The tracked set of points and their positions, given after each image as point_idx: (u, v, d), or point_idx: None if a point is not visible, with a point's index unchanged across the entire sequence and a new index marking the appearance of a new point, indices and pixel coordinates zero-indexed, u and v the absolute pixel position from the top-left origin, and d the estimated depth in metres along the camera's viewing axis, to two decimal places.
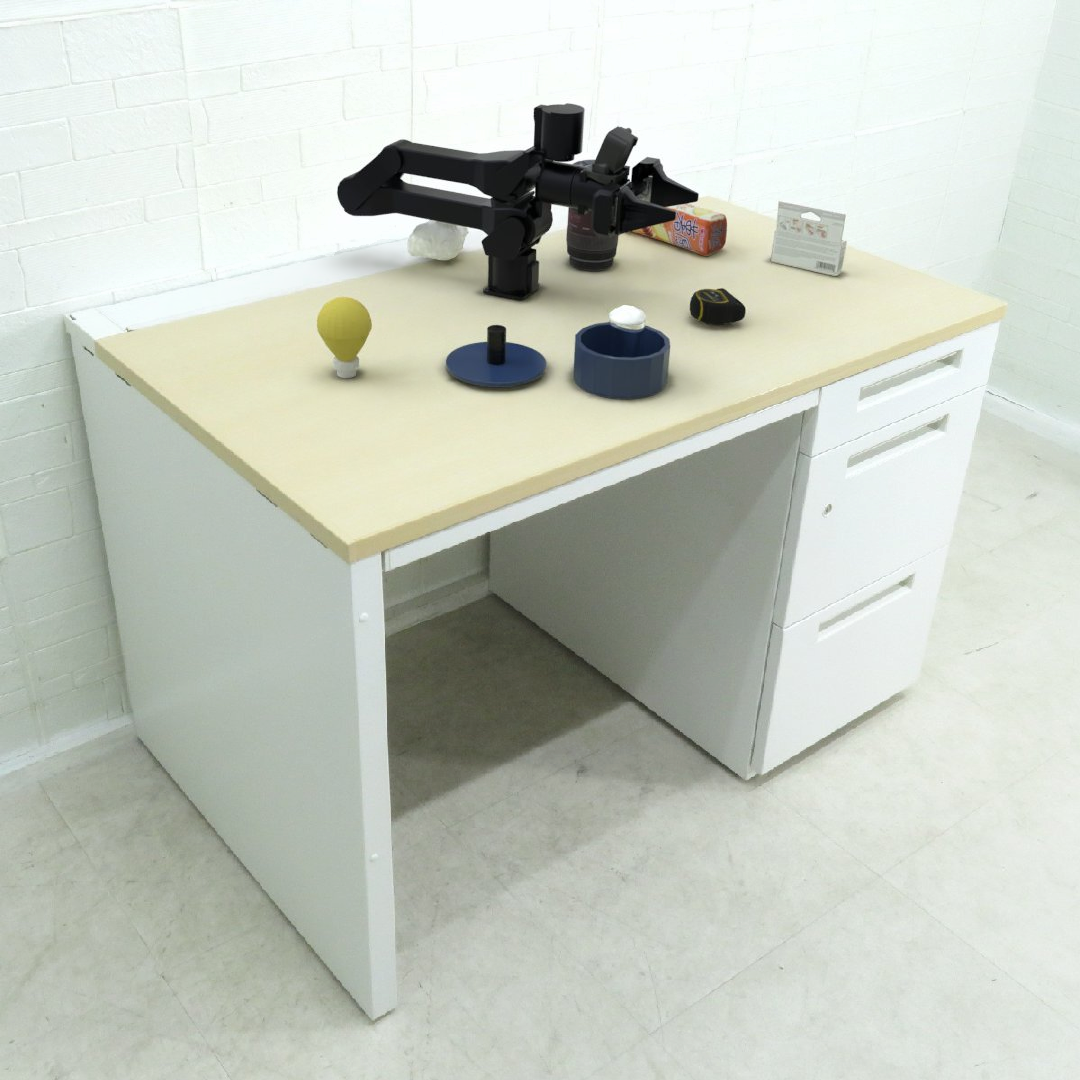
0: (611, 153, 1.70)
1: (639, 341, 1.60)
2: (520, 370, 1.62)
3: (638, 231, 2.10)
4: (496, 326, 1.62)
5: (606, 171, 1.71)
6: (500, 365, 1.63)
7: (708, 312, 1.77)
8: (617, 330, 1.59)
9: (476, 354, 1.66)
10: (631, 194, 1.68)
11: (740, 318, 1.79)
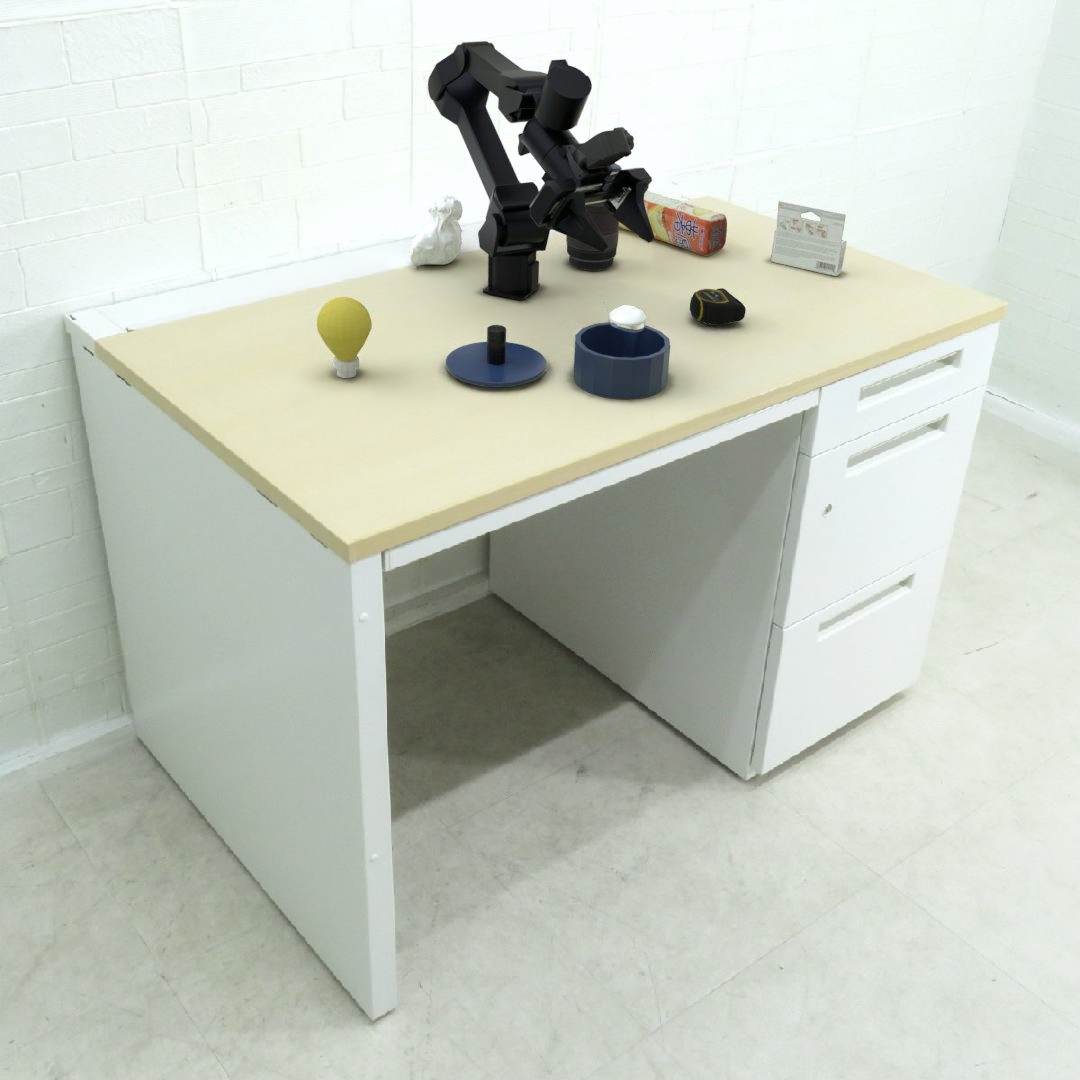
0: (594, 151, 1.60)
1: (639, 341, 1.60)
2: (520, 370, 1.62)
3: None
4: (496, 326, 1.62)
5: (581, 163, 1.62)
6: (500, 365, 1.63)
7: (708, 312, 1.77)
8: (617, 330, 1.59)
9: (476, 354, 1.66)
10: (581, 203, 1.60)
11: (740, 318, 1.79)
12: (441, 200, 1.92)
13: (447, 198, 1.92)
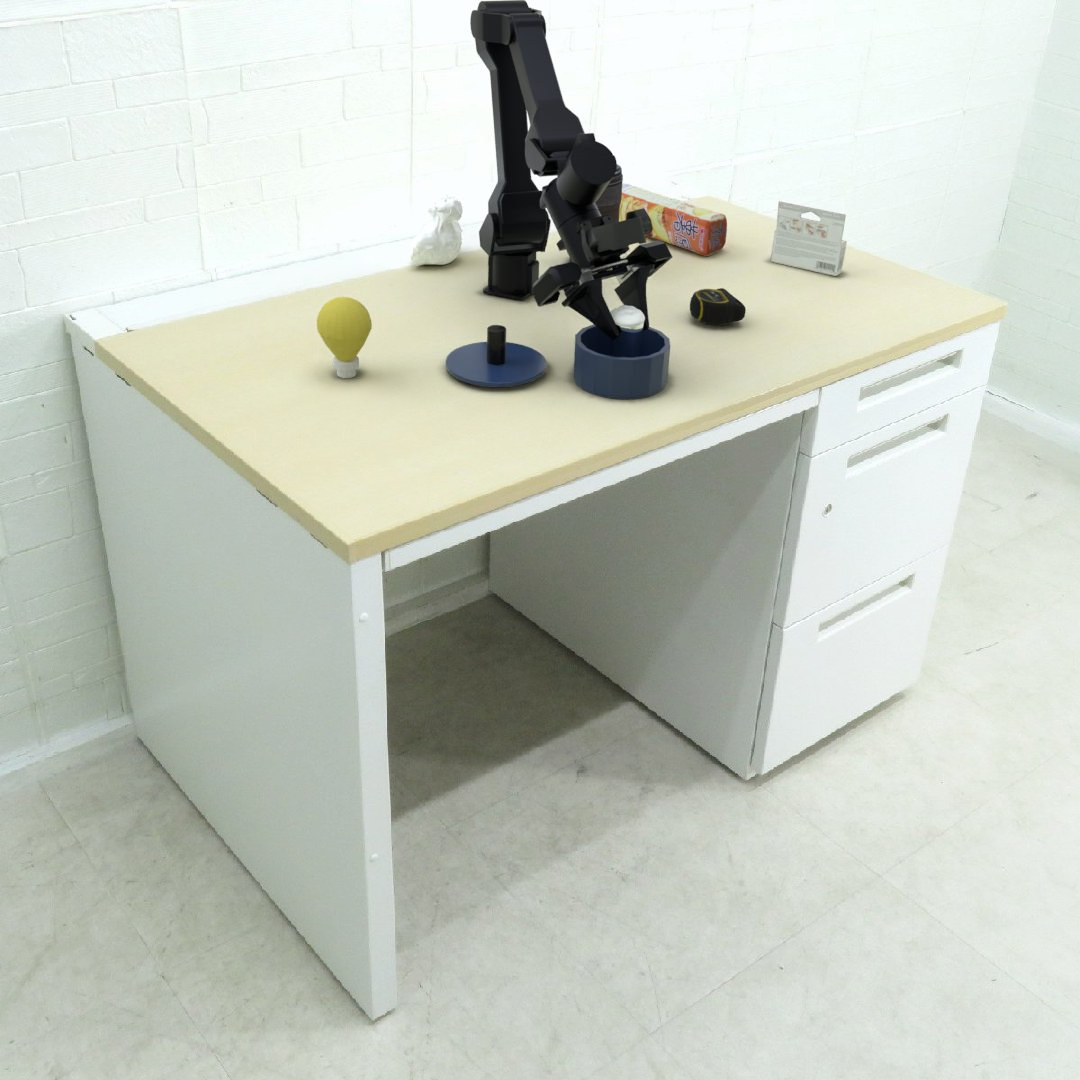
0: (605, 239, 1.54)
1: (638, 341, 1.60)
2: (520, 370, 1.62)
3: None
4: (496, 326, 1.62)
5: (592, 246, 1.56)
6: (500, 365, 1.63)
7: (708, 312, 1.77)
8: None
9: (476, 354, 1.66)
10: (597, 289, 1.56)
11: (740, 318, 1.79)
12: (441, 200, 1.92)
13: (447, 198, 1.92)
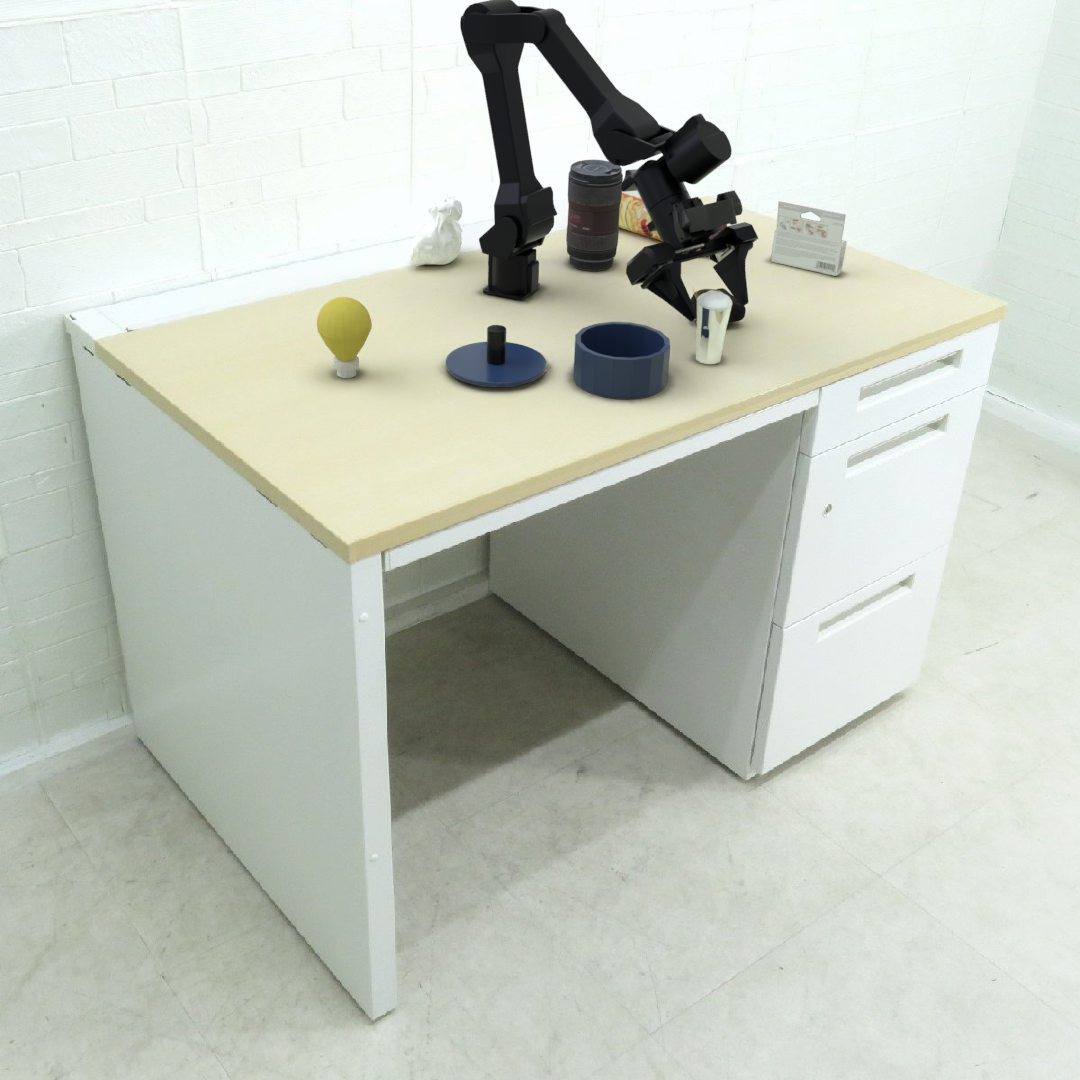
0: (698, 220, 1.60)
1: (725, 325, 1.66)
2: (520, 370, 1.62)
3: (638, 231, 2.10)
4: (496, 326, 1.62)
5: (685, 227, 1.62)
6: (500, 365, 1.63)
7: None
8: (705, 314, 1.65)
9: (476, 354, 1.66)
10: (676, 272, 1.61)
11: (740, 318, 1.79)
12: (441, 200, 1.92)
13: (447, 198, 1.92)
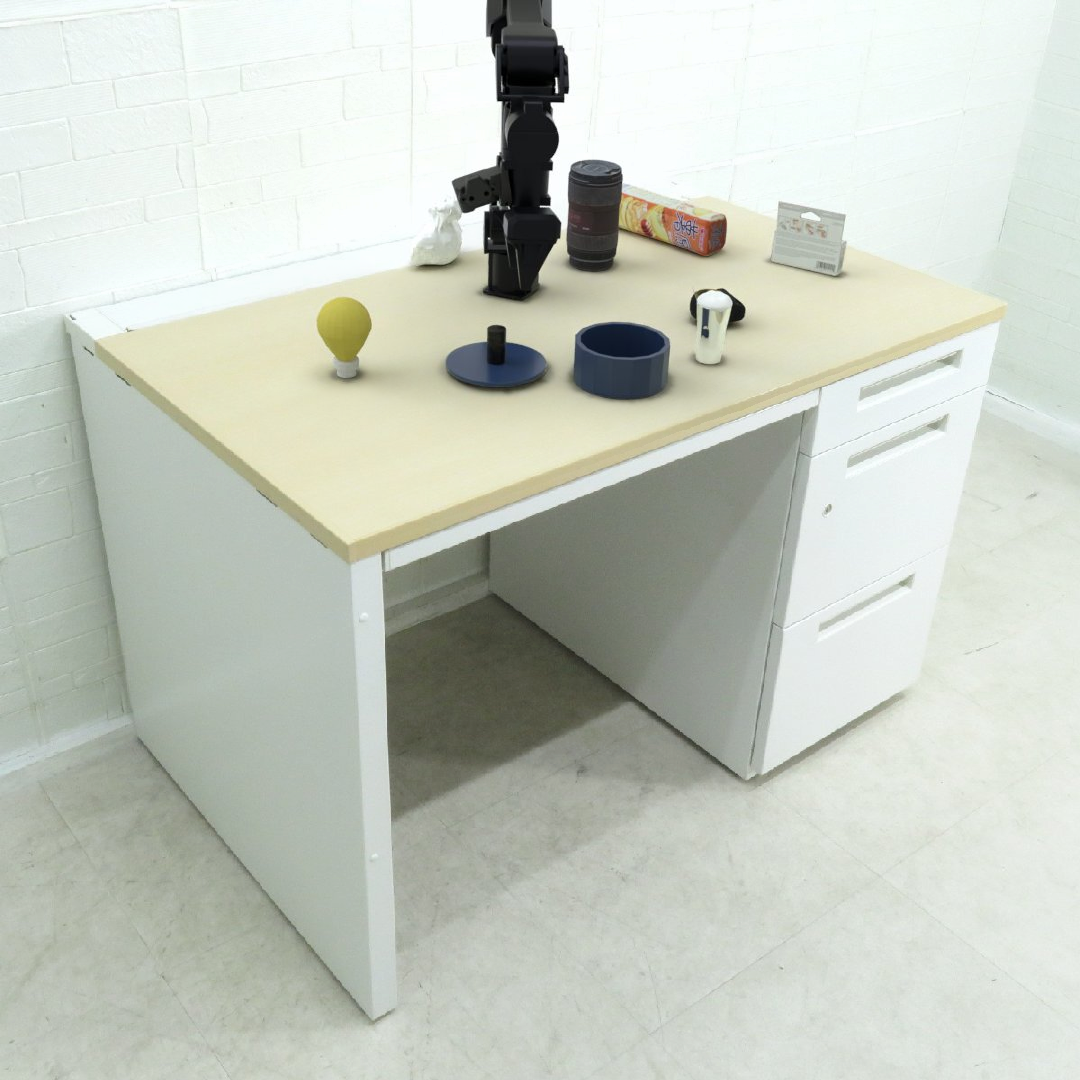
0: None
1: (725, 325, 1.66)
2: (520, 370, 1.62)
3: (638, 231, 2.10)
4: (496, 326, 1.62)
5: None
6: (500, 365, 1.63)
7: None
8: (705, 314, 1.65)
9: (476, 354, 1.66)
10: None
11: (740, 318, 1.79)
12: (441, 200, 1.92)
13: (447, 198, 1.92)
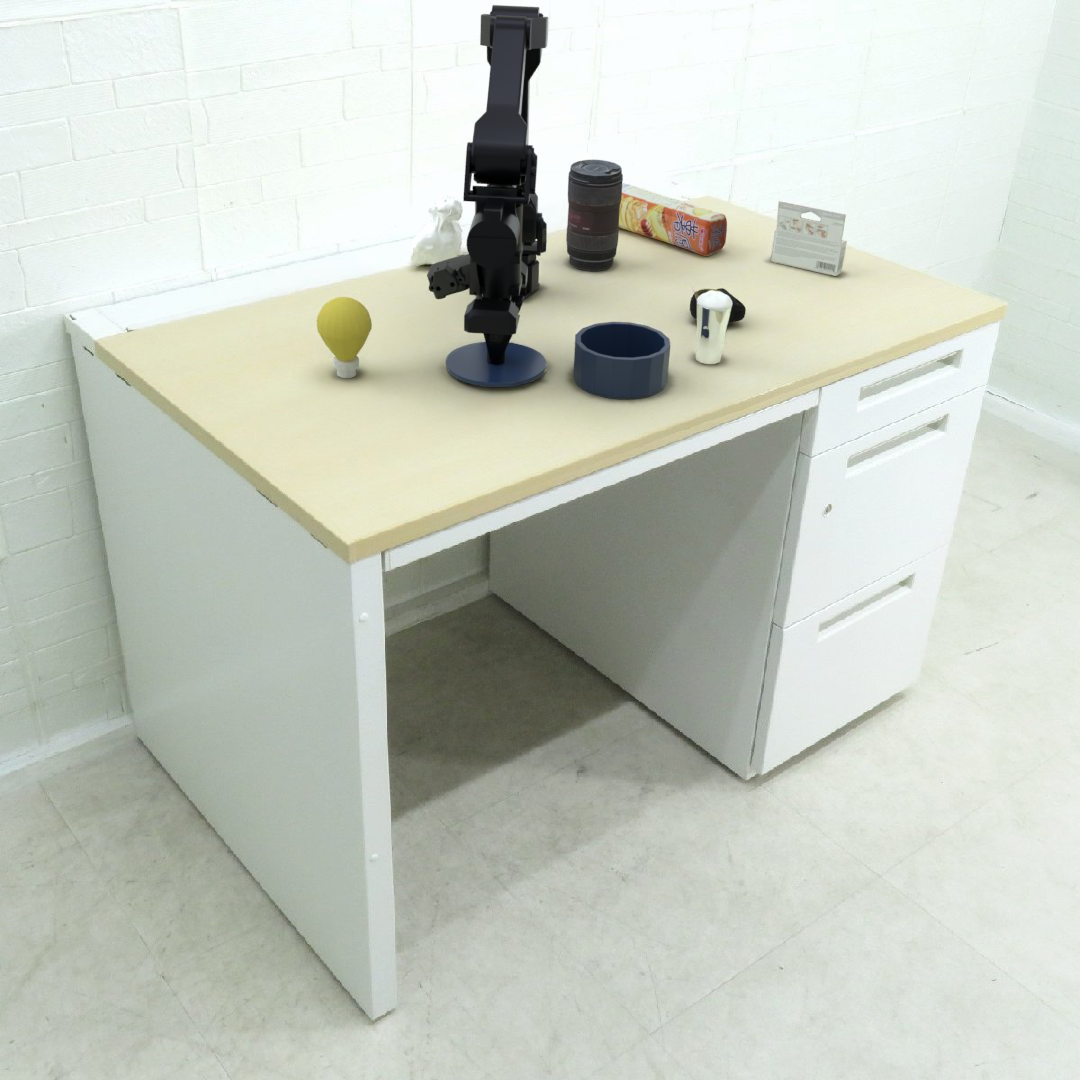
0: None
1: (725, 325, 1.66)
2: (520, 370, 1.62)
3: (638, 231, 2.10)
4: None
5: None
6: (500, 365, 1.63)
7: None
8: (705, 314, 1.65)
9: (476, 354, 1.66)
10: None
11: (740, 318, 1.79)
12: (441, 200, 1.92)
13: (447, 198, 1.92)
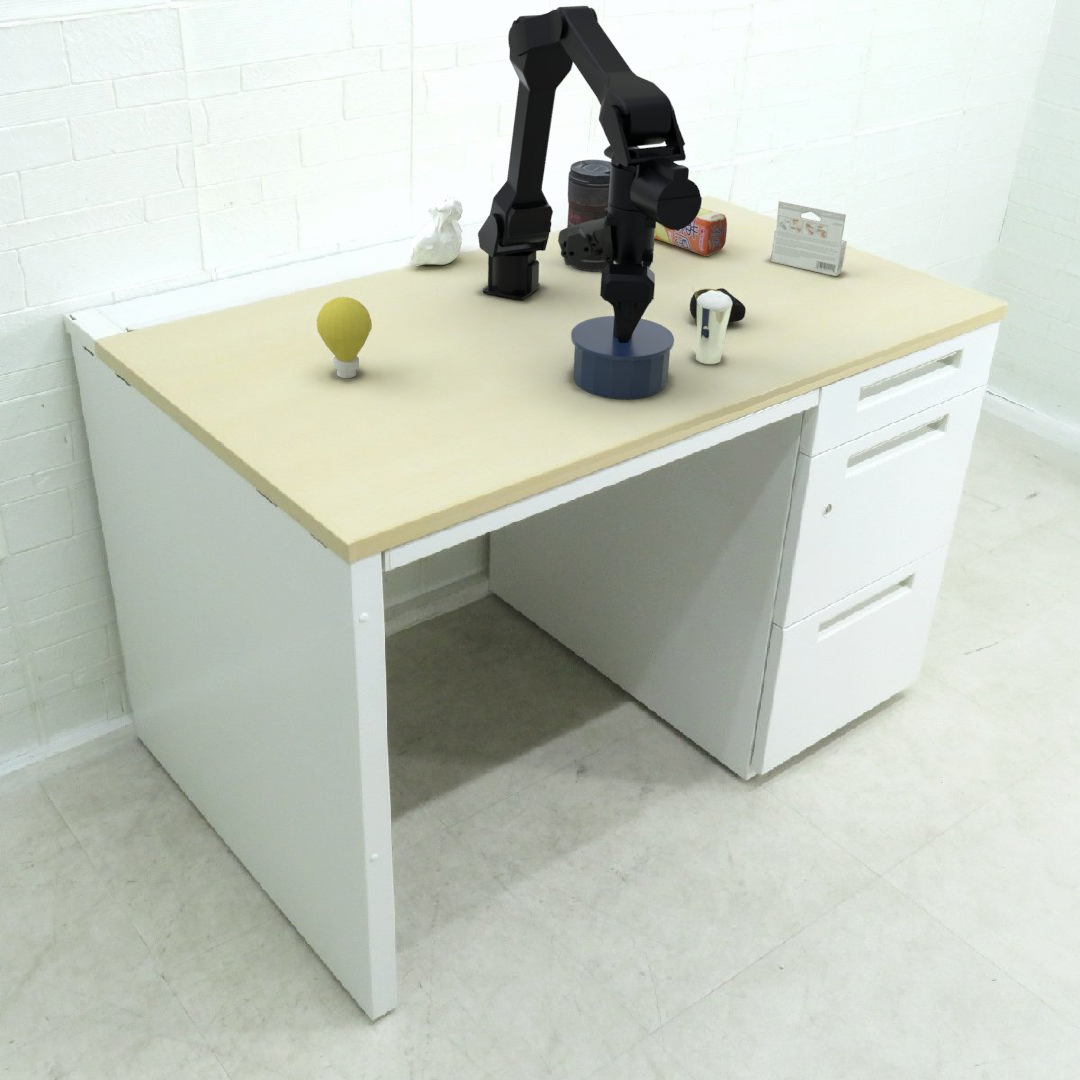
0: None
1: (725, 325, 1.66)
2: (649, 344, 1.59)
3: None
4: None
5: None
6: None
7: None
8: (705, 314, 1.65)
9: (601, 328, 1.62)
10: None
11: (740, 318, 1.79)
12: (441, 200, 1.92)
13: (447, 198, 1.92)
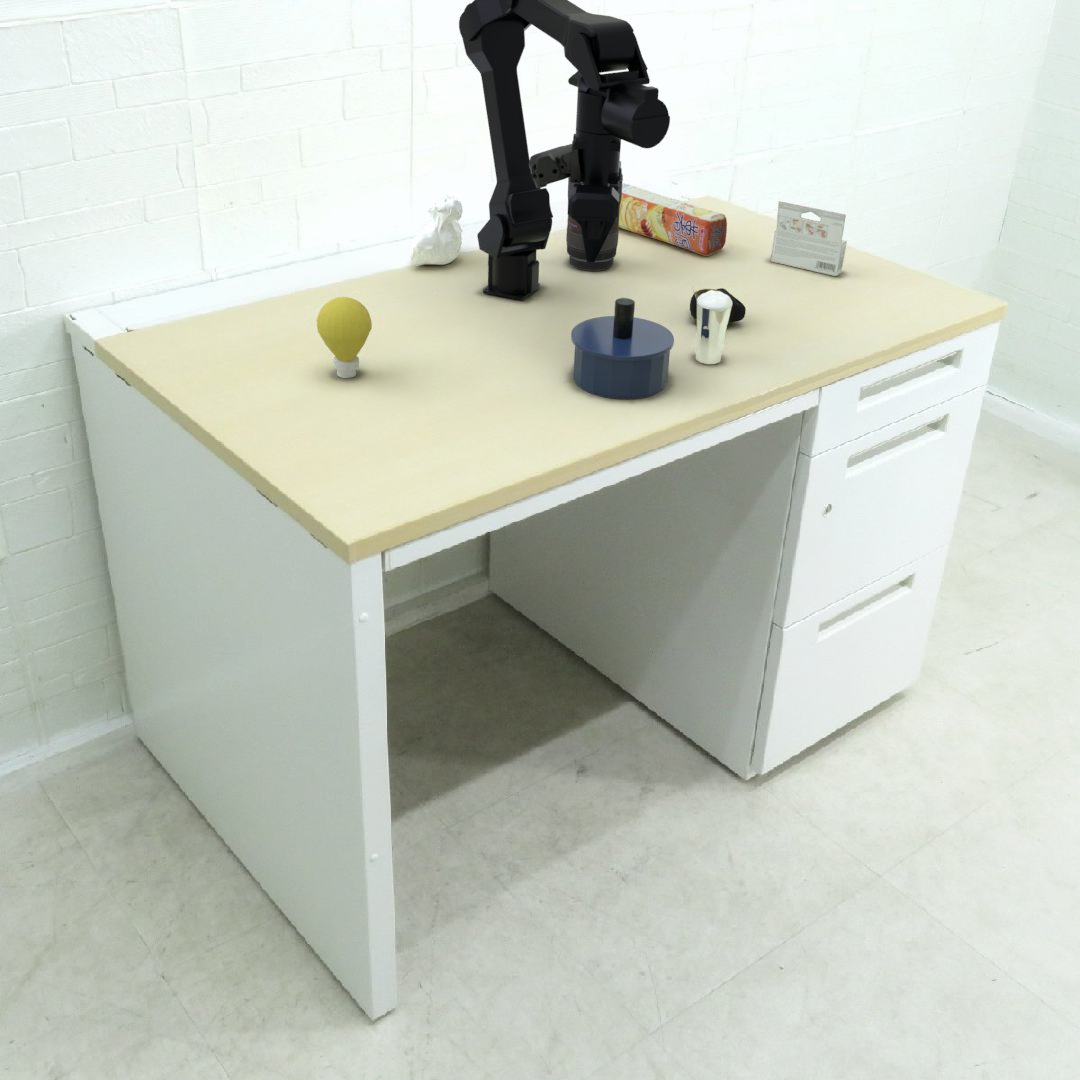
0: None
1: (725, 325, 1.66)
2: (649, 344, 1.59)
3: (638, 231, 2.10)
4: (624, 299, 1.59)
5: None
6: (627, 339, 1.60)
7: None
8: (705, 314, 1.65)
9: (601, 328, 1.62)
10: None
11: (740, 318, 1.79)
12: (441, 200, 1.92)
13: (447, 198, 1.92)
